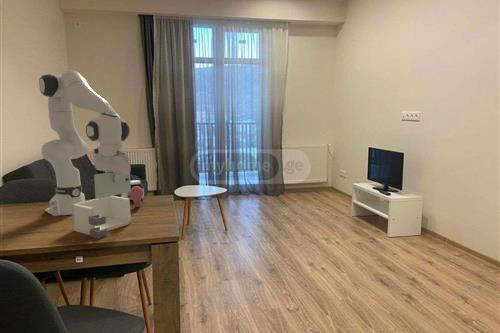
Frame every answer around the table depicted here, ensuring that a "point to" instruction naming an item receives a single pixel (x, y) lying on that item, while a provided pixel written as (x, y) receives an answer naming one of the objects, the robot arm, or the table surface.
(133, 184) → the spread jar
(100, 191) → the door
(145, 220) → the table surface
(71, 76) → the robot arm
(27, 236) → the table surface
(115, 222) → the cabinet
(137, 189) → the light bulb
